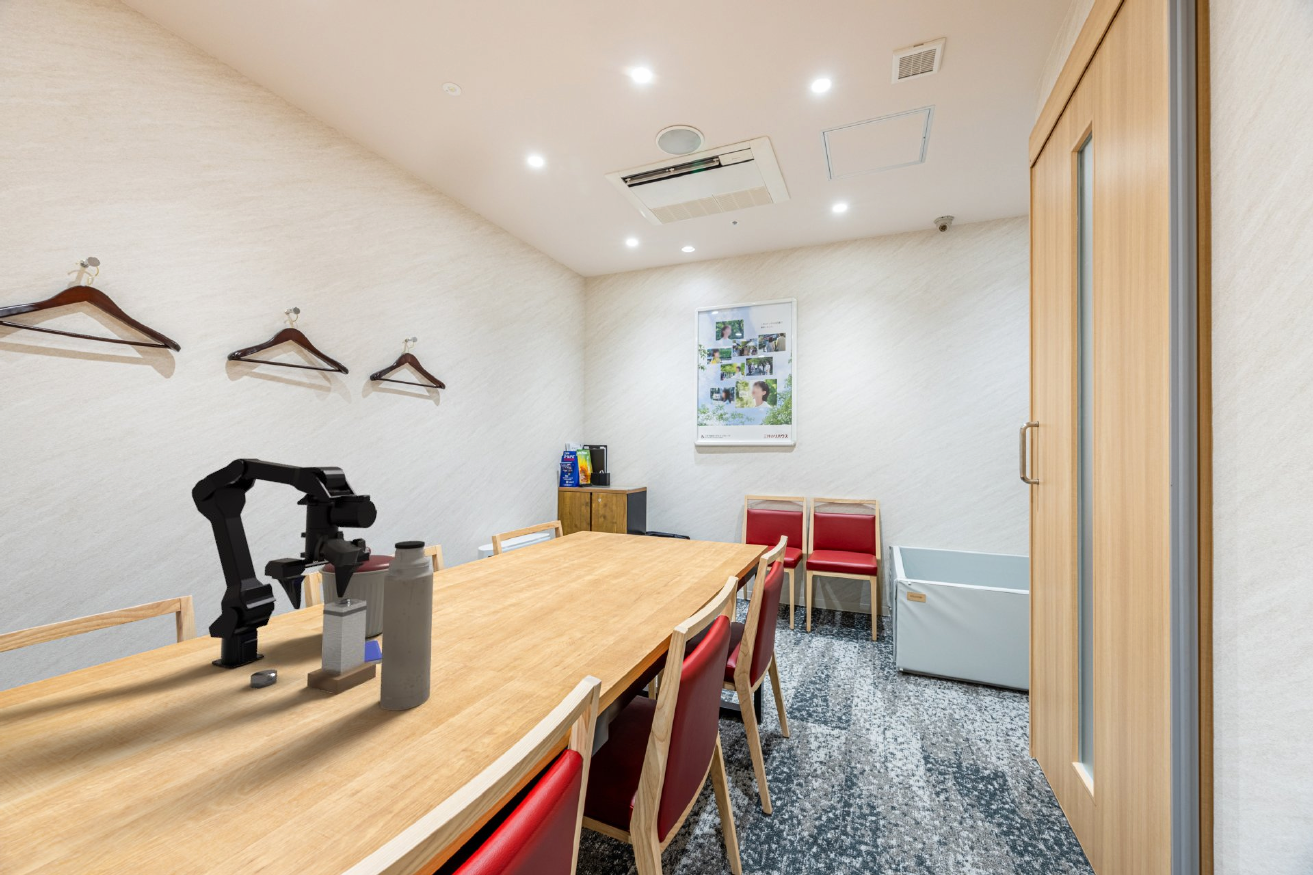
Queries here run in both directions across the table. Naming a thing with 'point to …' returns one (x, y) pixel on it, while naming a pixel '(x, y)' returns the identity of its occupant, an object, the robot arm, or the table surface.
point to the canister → (362, 589)
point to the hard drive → (372, 652)
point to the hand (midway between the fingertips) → (319, 602)
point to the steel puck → (263, 678)
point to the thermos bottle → (407, 628)
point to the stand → (340, 679)
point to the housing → (343, 636)
